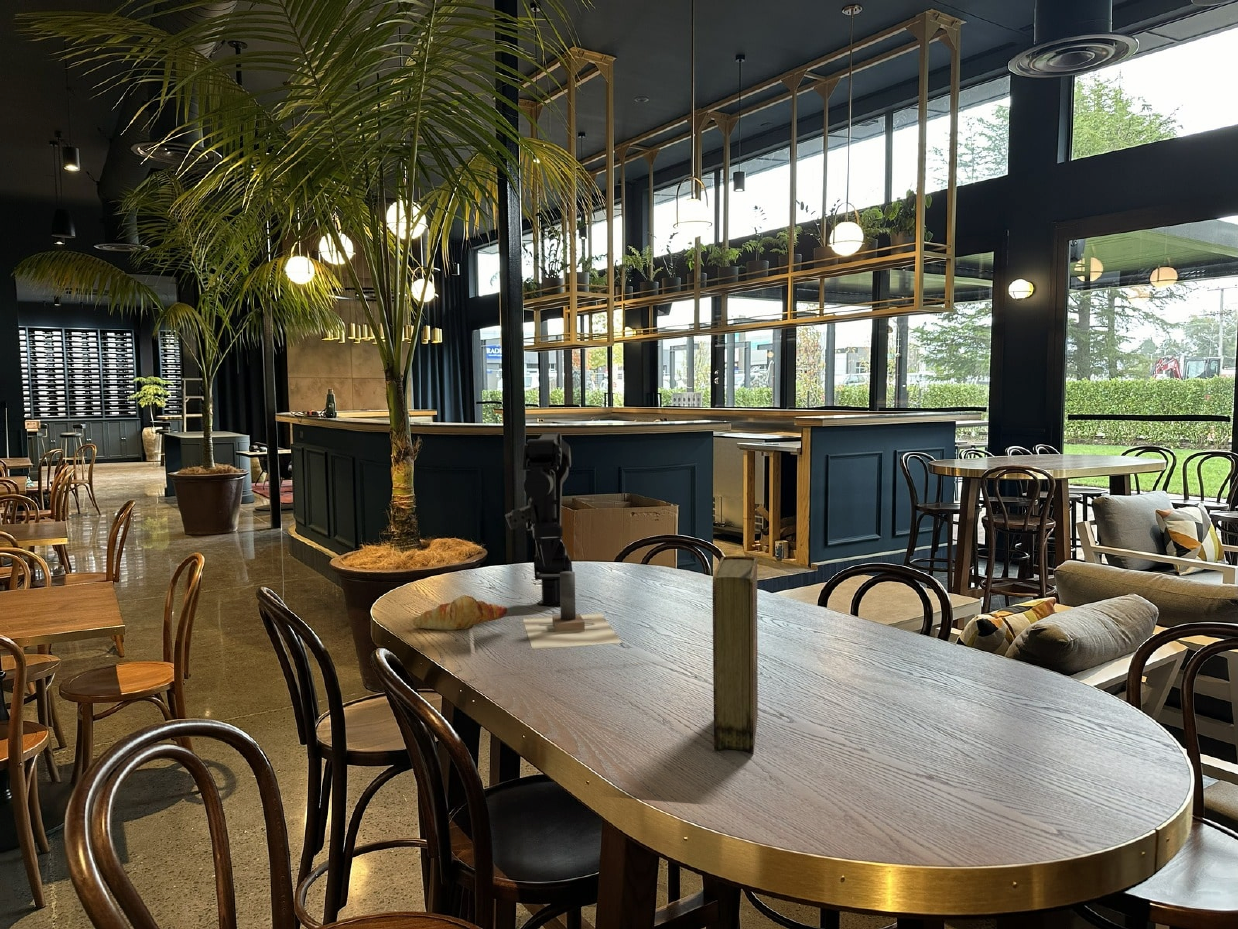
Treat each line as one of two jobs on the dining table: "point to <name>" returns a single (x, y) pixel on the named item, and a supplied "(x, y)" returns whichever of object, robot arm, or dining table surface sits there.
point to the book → (735, 653)
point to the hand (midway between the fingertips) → (544, 563)
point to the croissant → (459, 614)
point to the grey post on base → (568, 606)
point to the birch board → (569, 633)
